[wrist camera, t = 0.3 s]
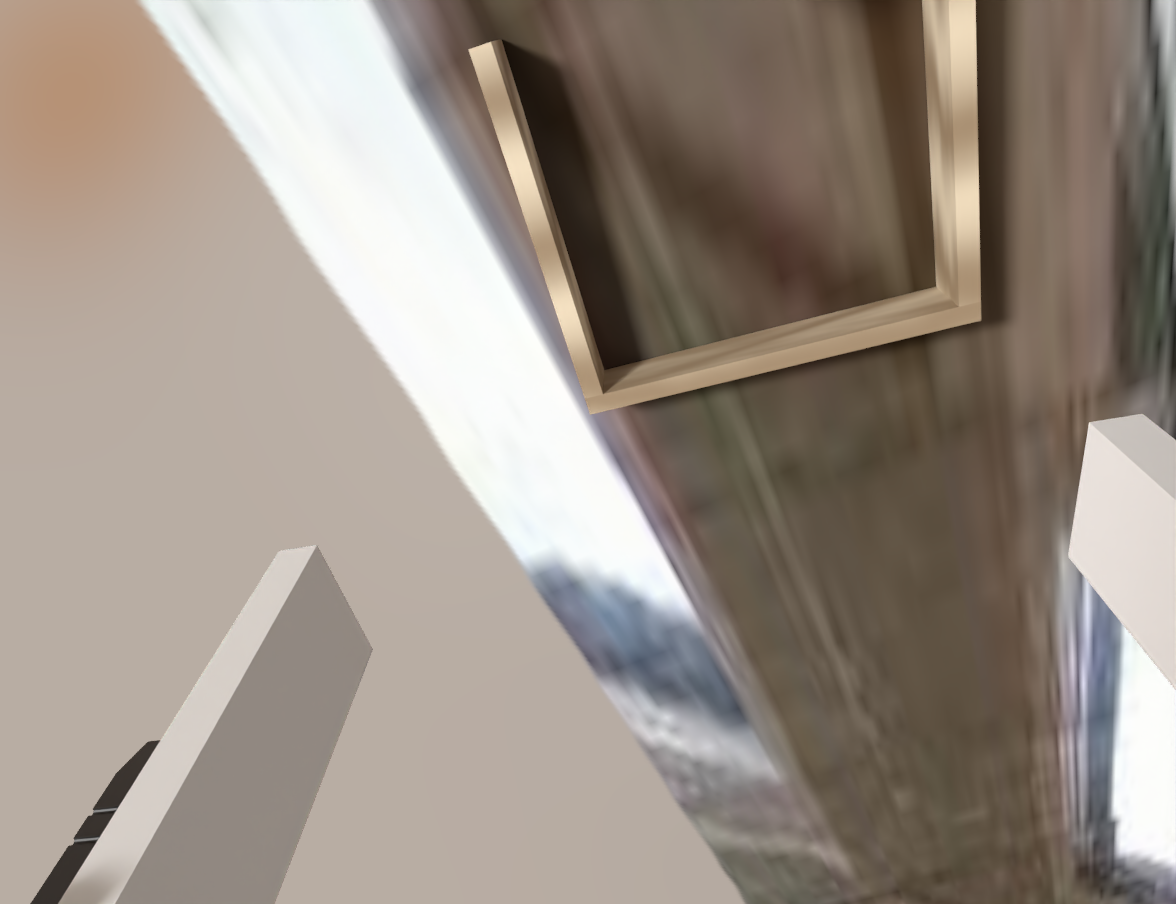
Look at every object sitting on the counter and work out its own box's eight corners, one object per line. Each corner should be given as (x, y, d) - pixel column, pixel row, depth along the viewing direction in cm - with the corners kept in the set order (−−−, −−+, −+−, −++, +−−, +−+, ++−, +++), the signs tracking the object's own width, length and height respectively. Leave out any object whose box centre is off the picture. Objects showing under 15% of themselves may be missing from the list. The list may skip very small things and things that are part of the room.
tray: (480, 46, 33) (468, 49, 30) (942, -115, 29) (973, -127, 27) (592, 389, 42) (590, 414, 39) (957, 299, 38) (981, 320, 35)
